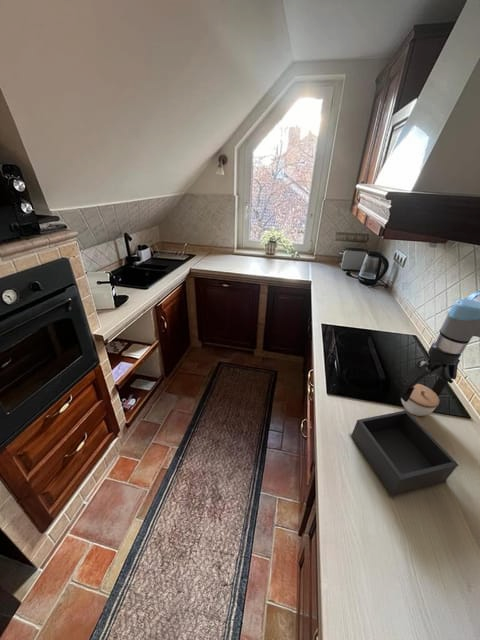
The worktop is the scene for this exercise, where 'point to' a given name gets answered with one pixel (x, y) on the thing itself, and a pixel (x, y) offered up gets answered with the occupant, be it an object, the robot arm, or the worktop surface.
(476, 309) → the robot arm
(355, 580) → the worktop surface
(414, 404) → the trinket box
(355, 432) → the tray
